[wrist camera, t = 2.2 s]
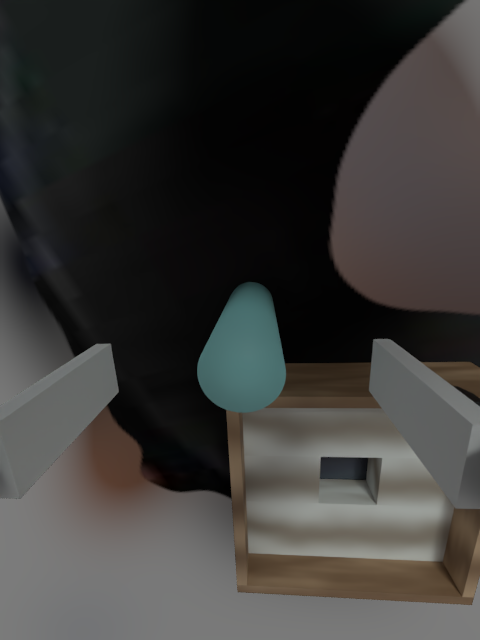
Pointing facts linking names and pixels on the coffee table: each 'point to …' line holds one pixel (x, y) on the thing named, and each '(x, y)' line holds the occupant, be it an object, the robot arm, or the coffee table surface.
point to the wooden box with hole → (345, 497)
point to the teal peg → (244, 353)
